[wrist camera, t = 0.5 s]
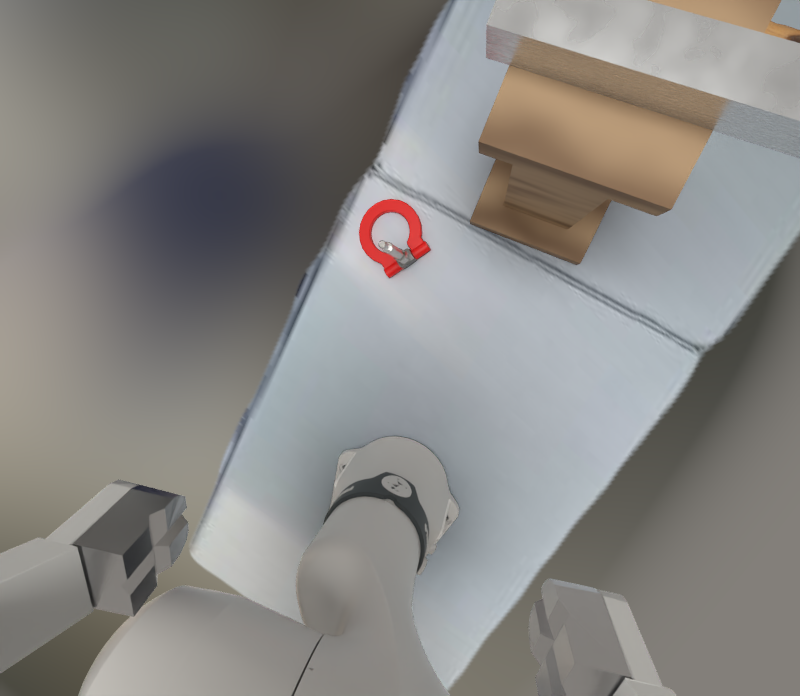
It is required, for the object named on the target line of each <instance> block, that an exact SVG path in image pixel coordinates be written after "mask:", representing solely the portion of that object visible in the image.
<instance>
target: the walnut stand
mask: <svg viewBox="0 0 800 696" xmlns="http://www.w3.org/2000/svg"><path fill="white" fill-rule="evenodd" d="M648 1H652V2H655V3H659V4H662V5H666V6H669V7H673V8H677V9H680V10H684V11H687V12H691V13H694V14H698V15H701V16H705V17H709V18H712V19H716V20H719V21H723V22H726V23H730V24H733V25H737V26H740V27H744V28H748V29H751V30H755V31H758V32H762V33H764V32H765V30H766V29H767V27H768V25H769V23H770V21H771V19H772V17H773V15H774V13H775V11H776V10H777V8H778V6H779V4H780V2H781V0H648ZM712 131H713V130H710V129H707V128H704V127H700V126H697V125H694V124H691V123H688V122H685V121H682V120H679V119H675V118H672V117H669V116H666V115H663V114H660V113H657V112H654V111H651V110H647V109H644V108H641V107H638V106H635V105H632V104H629V103H626V102H622V101H619V100H616V99H613V98H610V97H607V96H604V95H601V94H598V93H594V92H591V91H588V90H585V89H582V88H579V87H576V86H573V85H569V84H566V83H563V82H560V81H557V80H554V79H551V78H548V77H544V76H541V75H538V74H535V73H532V72H529V71H526V70H523V69H520V68H516V67H513V66H509V68H508V70H507V73H506V75H505V78H504V80H503V83H502V85H501V88H500V90H499V93H498V95H497V97H496V100H495V102H494V105H493V107H492V110H491V112H490V115H489V117H488V120H487V122H486V124H485V127H484V129H483V132H482V134H481V137H480V139H479V153H481V154H484V155H487V156H490V157H492V158H495V159H496V160H495V163H494V165H493V167H492V170H491V172H490V175H489V177H488V179H487V182H486V184H485V186H484V189H483V191H482V194H481V196H480V198H479V201H478V203H477V205H476V208H475V210H474V213H473V215H472V217H471V220H470V224H472V225H475V226H477V227H480V228H482V229H485V230H488V231H490V232H493V233H495V234H498V235H501V236H503V237H506V238H508V239H511V240H514V241H516V242H519V243H521V244H524V245H527V246H529V247H532V248H534V249H537V250H539V251H542V252H545V253H547V254H550V255H552V256H555V257H558V258H560V259H563V260H565V261H568V262H571V263H573V264H576V265H577V264H580V263H581V261H582V259H583V257H584V255H585V253H586V251H587V249H588V247H589V245H590V243H591V241H592V239H593V237H594V235H595V233H596V231H597V229H598V226H599V224H600V222H601V220H602V218H603V216H604V214H605V212H606V210H607V208H608V206H609V204H610V202H611V200H613V201H615V202H618V203H621V204H624V205H627V206H629V207H632V208H635V209H638V210H641V211H643V212H646V213H649V214H652V215H655V216H658V215H660V214H662V213H665V212H667V211H669V210H671V209H672V207H673V205H674V203H675V202H676V200H677V198H678V196H679V194H680V192H681V190H682V188H683V186H684V184H685V183H686V181H687V179H688V177H689V175H690V173H691V171H692V169H693V167H694V165H695V164H696V162H697V160H698V158H699V156H700V154H701V152H702V150H703V148H704V146H705V145H706V143H707V141H708V139H709V137H710V135H711V133H712Z"/></svg>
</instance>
